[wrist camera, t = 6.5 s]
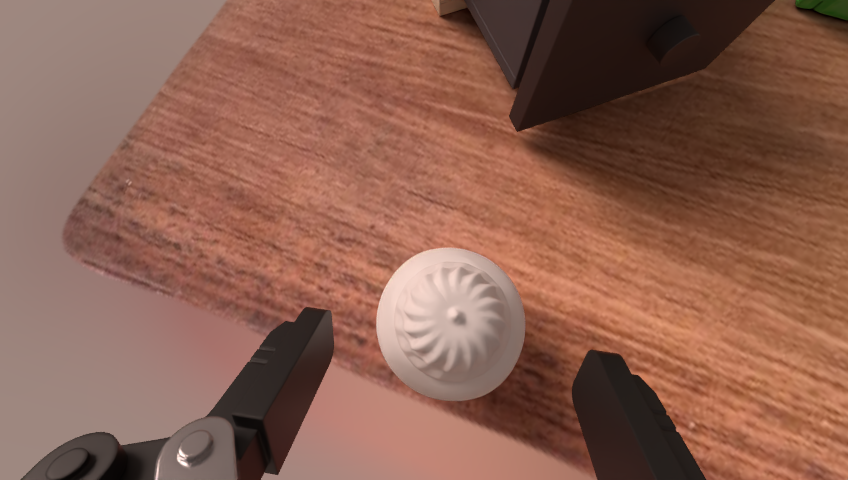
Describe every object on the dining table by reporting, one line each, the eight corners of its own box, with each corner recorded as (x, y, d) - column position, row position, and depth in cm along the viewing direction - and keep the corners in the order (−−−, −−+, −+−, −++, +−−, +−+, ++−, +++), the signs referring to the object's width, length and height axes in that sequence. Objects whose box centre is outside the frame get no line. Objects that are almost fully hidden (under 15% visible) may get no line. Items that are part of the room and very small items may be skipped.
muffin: (529, 348, 16) (600, 359, 9) (422, 411, 15) (415, 473, 9) (466, 245, 18) (488, 190, 11) (368, 298, 17) (326, 274, 10)
